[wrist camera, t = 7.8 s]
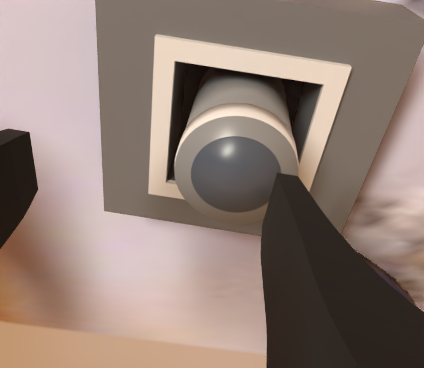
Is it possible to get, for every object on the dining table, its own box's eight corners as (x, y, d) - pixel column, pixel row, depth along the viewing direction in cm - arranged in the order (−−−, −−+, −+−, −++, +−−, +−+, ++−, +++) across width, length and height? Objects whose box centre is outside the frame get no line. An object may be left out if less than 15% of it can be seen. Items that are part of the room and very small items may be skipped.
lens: (194, 134, 21) (171, 218, 15) (198, 49, 18) (173, 112, 13) (278, 143, 21) (287, 231, 15) (294, 59, 18) (312, 126, 12)
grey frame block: (123, 173, 23) (102, 214, 20) (121, -40, 17) (91, -28, 13) (325, 205, 23) (335, 251, 20) (401, 4, 17) (435, 26, 13)
